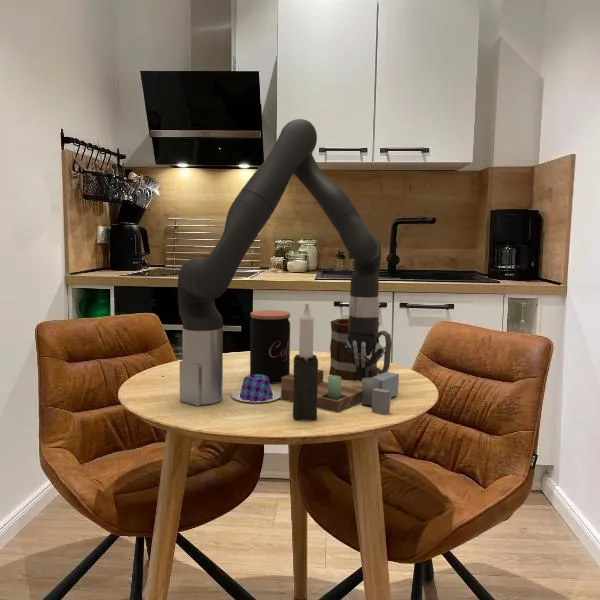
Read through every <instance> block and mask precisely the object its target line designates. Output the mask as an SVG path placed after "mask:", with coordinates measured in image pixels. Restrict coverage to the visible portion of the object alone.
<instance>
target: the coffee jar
mask: <svg viewBox="0 0 600 600" xmlns="http://www.w3.org/2000/svg"><path fill="white" fill-rule="evenodd" d="M250 317H251V320H250V324H249V327H250V329H249V332H250V333H249V337H250V338H249V341H250V342H249V344H250V347H249V375H253V374H258V375H264V376H267V377H268V378H269V381H270V384H281V377H283V376H287V375H290V374H291V373H290V369H291V367H290V366H291V365H290V363H291V362H290V360H291V359H290V358H291V322H290V320H289V318H290V317H291V313H290V312H288V311H286V310H274V309H271V310H270V309H265V310H264V309H262V310H254V311H251V312H250Z"/></svg>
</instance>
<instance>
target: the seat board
mask: <svg viewBox="0 0 600 600" xmlns="http://www.w3.org/2000/svg"><path fill="white" fill-rule="evenodd" d="M293 379H294V374H291V373H290V375H287V376H283V377H281V382H280V393H281V397H280V400H281V401H282V400H283V401H286V402H292V403H293ZM361 393H362V388H356V387H351V386H346V385H342V384H341V399H338V400H334V399H329V398H328V381H327V382H325V381H324V370H323V369H318V389H317V409H320V410H321V409H322V410H326V411H331V412H333V411H334V412H333V413H340V412H342V411H344V410H346V409H348V408H351V407H353V406H355V405H357V404H360V403H361Z"/></svg>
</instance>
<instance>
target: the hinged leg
mask: <svg viewBox="0 0 600 600" xmlns="http://www.w3.org/2000/svg"><path fill="white" fill-rule="evenodd" d="M399 377H400V374H399V373H395V372H390V371H387V372H384V373H382V374H377V376H374V377H372V378H363V379H362V382H361V390H362V393H361V402H360V403H361V404H363V405H366V406H372V390H373V389H375V388H379V389H385V390H390V398H392V397H394V396H396V395H398V394H399V381H400V380H399Z"/></svg>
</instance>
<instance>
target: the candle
mask: <svg viewBox="0 0 600 600" xmlns="http://www.w3.org/2000/svg"><path fill="white" fill-rule="evenodd" d="M309 305H310V303H309V302H305V303H304V309H303V312H302V314H301V316H300V318H299V337H298V338H299V342H298V343H299V347H298V350H299V352H298V354H296V355H295V356H294V357H293V375H294V379H293V402H292V418H293V420H294V421H316V420H318V408H317V389H318V370H319V360H318V357H317V355H316V354H314V322H315V320H314V317H313V316H312V313H311V310H310V307H309Z"/></svg>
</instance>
